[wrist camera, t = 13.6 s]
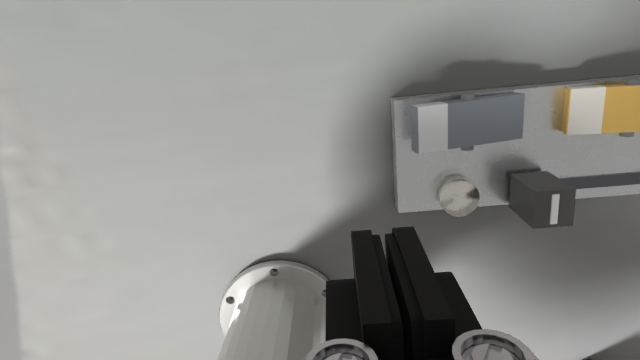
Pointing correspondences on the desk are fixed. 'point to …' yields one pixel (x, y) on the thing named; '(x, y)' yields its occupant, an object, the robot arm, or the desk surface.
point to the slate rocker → (466, 122)
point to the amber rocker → (602, 109)
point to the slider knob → (542, 199)
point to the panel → (511, 155)
